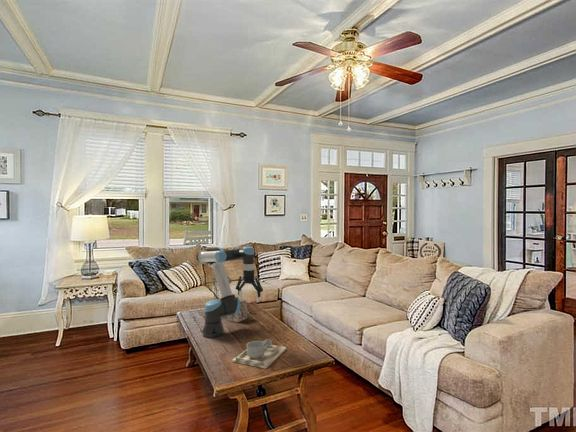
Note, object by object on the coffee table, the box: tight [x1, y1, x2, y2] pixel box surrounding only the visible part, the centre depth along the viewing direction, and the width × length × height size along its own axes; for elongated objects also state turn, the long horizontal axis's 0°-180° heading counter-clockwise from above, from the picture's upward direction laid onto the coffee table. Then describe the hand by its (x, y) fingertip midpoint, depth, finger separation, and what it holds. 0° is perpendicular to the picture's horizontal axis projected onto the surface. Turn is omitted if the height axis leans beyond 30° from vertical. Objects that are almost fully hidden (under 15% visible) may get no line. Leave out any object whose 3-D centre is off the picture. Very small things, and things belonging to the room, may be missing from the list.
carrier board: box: [232, 338, 287, 369], centre depth 201 cm, size 22×28×5 cm
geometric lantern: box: [211, 275, 234, 300], centre depth 281 cm, size 16×16×35 cm
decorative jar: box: [226, 296, 248, 323], centre depth 267 cm, size 12×12×18 cm
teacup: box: [245, 340, 268, 359], centre depth 197 cm, size 14×11×8 cm
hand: (249, 300), depth 224 cm, fingers open, 13 cm apart
